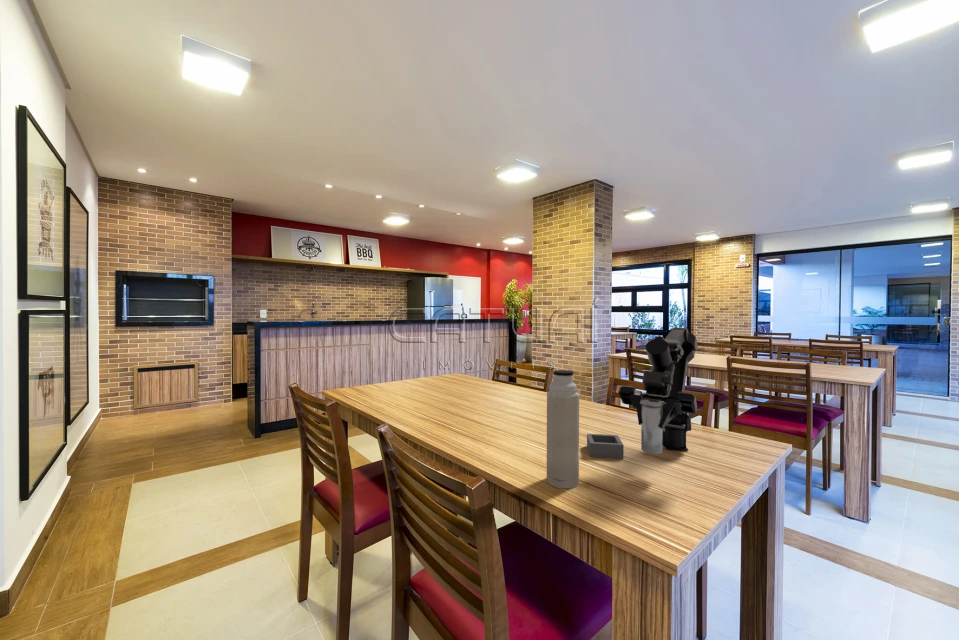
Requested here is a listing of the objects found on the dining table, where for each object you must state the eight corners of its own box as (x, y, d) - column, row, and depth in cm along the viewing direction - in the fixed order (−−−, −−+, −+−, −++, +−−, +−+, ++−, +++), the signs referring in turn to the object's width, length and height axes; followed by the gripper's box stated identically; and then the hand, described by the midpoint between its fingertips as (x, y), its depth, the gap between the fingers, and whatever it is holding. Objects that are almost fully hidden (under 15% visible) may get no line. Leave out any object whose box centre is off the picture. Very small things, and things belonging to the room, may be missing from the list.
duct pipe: (659, 446, 102) (660, 398, 101) (666, 454, 96) (666, 403, 96) (637, 445, 103) (638, 397, 102) (642, 453, 97) (643, 402, 97)
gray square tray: (617, 447, 121) (617, 435, 121) (623, 458, 111) (623, 445, 111) (586, 445, 122) (587, 433, 122) (590, 456, 113) (590, 443, 113)
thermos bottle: (540, 482, 95) (541, 371, 95) (555, 472, 102) (556, 367, 101) (570, 491, 90) (570, 374, 90) (584, 480, 96) (584, 370, 96)
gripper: (620, 356, 108) (606, 402, 99) (695, 362, 96) (687, 414, 88) (629, 380, 114) (616, 425, 106) (700, 388, 103) (692, 439, 94)
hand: (650, 425), depth 98 cm, fingers closed on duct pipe, 5 cm apart
